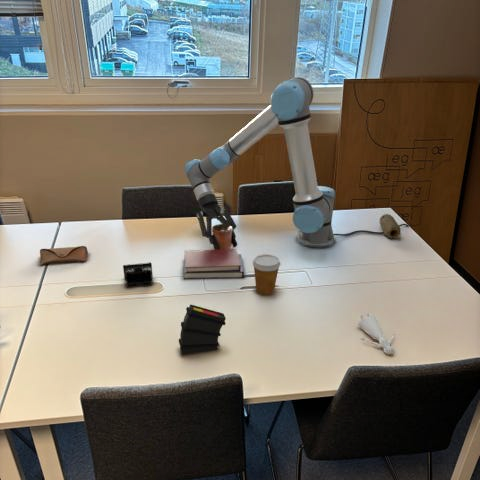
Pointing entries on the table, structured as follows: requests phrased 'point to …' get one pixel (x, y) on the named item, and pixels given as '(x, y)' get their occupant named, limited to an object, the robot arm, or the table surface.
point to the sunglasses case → (63, 255)
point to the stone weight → (389, 226)
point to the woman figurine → (375, 333)
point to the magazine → (200, 330)
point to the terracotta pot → (223, 236)
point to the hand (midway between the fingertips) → (226, 248)
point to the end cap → (138, 274)
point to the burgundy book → (212, 260)
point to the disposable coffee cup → (265, 273)
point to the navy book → (216, 273)
